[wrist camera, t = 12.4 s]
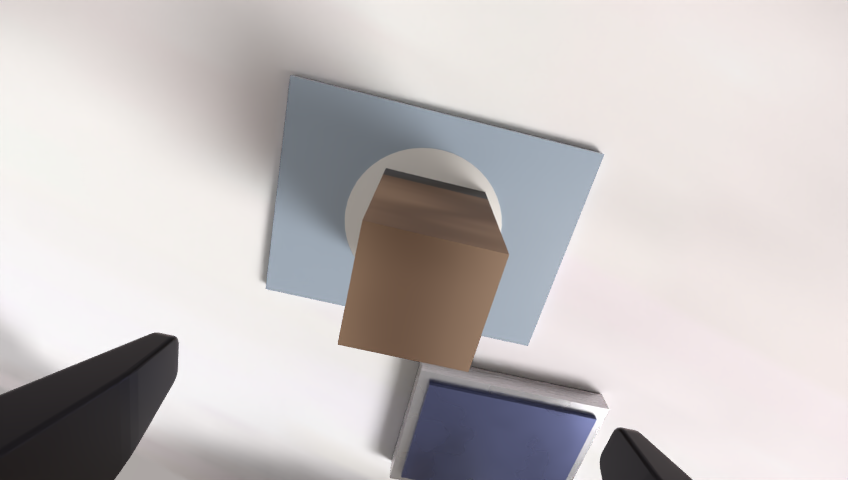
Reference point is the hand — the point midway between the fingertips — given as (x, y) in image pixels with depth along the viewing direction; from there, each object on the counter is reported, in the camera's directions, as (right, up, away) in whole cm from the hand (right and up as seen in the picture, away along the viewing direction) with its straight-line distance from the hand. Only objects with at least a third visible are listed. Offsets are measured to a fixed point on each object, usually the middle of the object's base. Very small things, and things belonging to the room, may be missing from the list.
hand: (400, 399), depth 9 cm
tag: (0, +4, +9) cm, 10 cm away
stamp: (0, +4, +9) cm, 10 cm away
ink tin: (+4, -6, +14) cm, 15 cm away
